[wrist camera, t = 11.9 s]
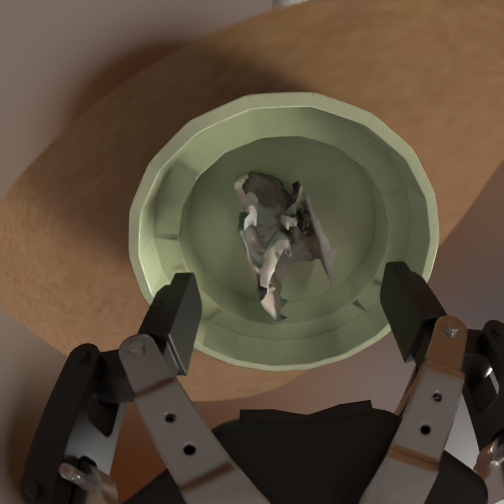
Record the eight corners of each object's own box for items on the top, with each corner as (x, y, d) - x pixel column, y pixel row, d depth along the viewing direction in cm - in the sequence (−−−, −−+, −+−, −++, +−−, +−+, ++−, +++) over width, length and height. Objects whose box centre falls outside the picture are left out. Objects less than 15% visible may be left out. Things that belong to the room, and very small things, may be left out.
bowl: (141, 114, 14) (96, 124, 10) (405, 101, 13) (454, 106, 8) (187, 319, 22) (173, 369, 17) (381, 309, 20) (401, 357, 16)
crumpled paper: (274, 288, 19) (277, 374, 13) (227, 176, 15) (202, 232, 9) (336, 270, 18) (363, 352, 12) (302, 151, 14) (330, 190, 8)
